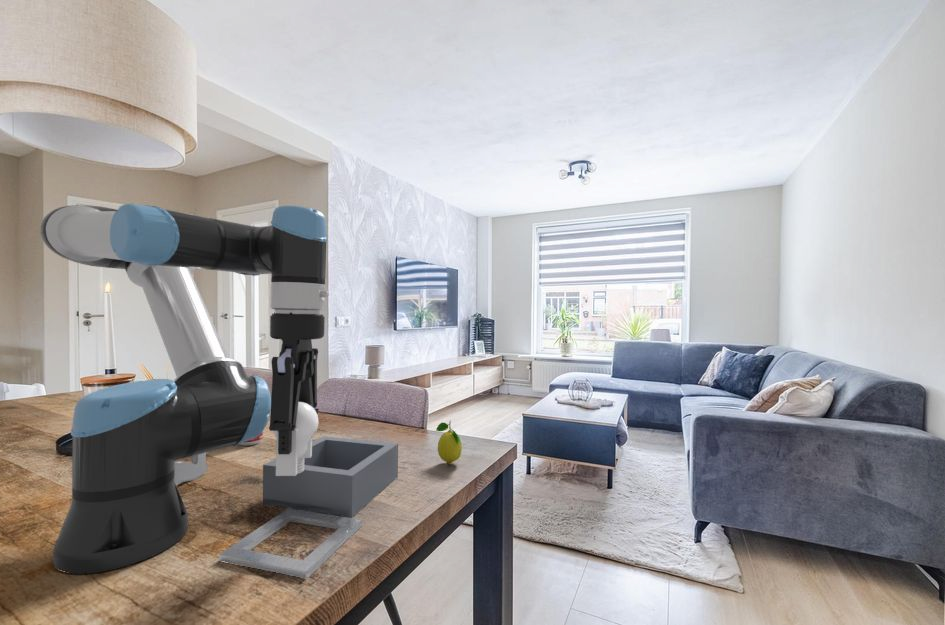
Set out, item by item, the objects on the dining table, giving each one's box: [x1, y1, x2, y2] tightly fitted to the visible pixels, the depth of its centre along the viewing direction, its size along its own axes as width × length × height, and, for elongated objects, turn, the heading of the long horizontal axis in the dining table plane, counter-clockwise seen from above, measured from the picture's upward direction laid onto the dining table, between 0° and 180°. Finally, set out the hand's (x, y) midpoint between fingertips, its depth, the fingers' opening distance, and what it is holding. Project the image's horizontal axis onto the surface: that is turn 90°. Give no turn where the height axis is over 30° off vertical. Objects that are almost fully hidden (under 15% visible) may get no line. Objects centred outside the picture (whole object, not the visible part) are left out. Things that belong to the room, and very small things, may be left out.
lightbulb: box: [273, 402, 319, 476], centre depth 62 cm, size 6×6×11 cm
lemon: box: [435, 420, 463, 465], centre depth 95 cm, size 7×6×10 cm
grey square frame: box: [218, 508, 363, 579], centre depth 62 cm, size 14×14×1 cm
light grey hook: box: [175, 452, 210, 487], centre depth 84 cm, size 6×1×10 cm
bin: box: [262, 435, 399, 518], centre depth 81 cm, size 18×18×7 cm
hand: (294, 465), depth 62 cm, fingers closed on lightbulb, 6 cm apart
